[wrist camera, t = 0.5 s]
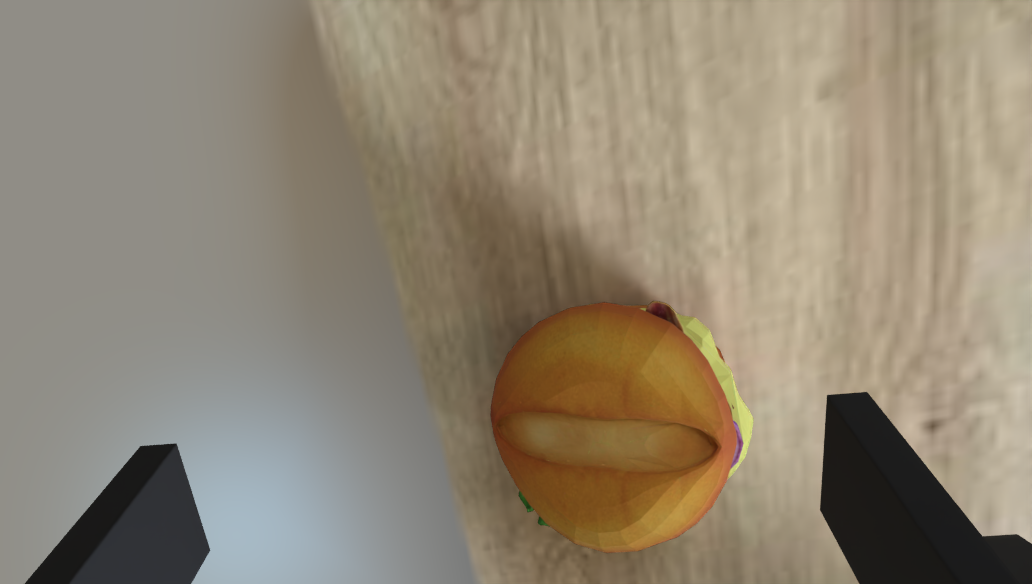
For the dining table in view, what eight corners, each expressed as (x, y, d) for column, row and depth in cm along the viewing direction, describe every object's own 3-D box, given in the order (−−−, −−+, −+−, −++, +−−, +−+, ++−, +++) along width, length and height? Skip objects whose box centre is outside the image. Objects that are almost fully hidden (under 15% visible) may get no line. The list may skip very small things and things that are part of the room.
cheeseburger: (594, 527, 37) (573, 661, 28) (470, 347, 37) (404, 421, 27) (780, 425, 35) (827, 534, 25) (650, 230, 34) (647, 266, 25)
